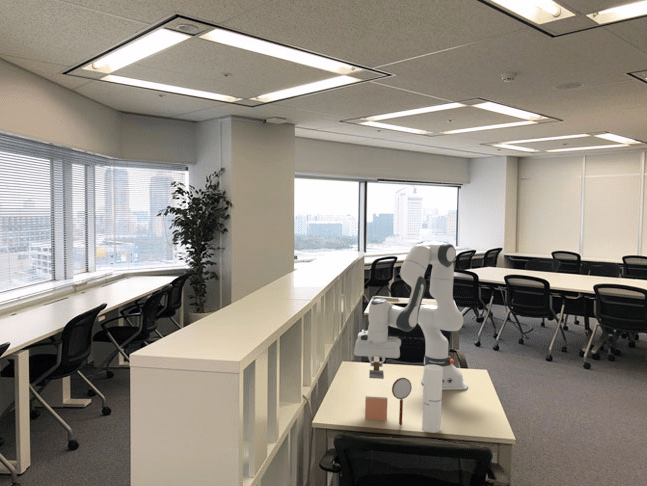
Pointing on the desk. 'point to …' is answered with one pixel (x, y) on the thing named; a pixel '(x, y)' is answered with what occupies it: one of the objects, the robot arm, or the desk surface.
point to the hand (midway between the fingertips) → (376, 366)
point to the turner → (376, 370)
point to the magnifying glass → (401, 392)
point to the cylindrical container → (432, 398)
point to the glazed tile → (376, 408)
